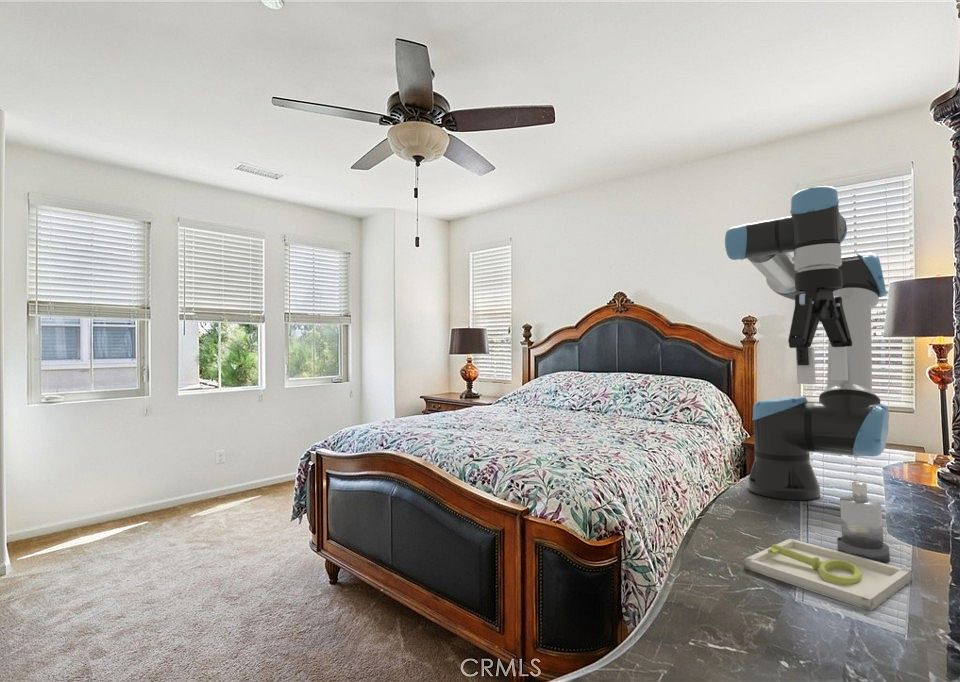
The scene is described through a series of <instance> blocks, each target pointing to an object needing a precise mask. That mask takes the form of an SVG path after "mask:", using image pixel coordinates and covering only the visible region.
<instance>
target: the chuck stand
mask: <svg viewBox="0 0 960 682" xmlns="http://www.w3.org/2000/svg"><path fill="white" fill-rule="evenodd" d="M851 491H852V496H842V497H840V498H839V506H840V507H839V508H840V526H841V529H840V530H841V536H839V537H837V538H836V541H837V542H836V543H837V551H839V552H843V553H847V554H851V555H854V556H858V557H862V558H866V559H869V560H873V561H877V562H881V563H885V564H887V563H888V564H889V562H890V561H891V556H890V546H889V545H888V544H887V543H884V530H883V529H884V528H883V512H882V511H883V510H882V503H881V502H880V501H879V500H875V499H871V498H868V484H867V483H865V482H859V481H853V482H851Z"/></svg>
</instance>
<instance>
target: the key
mask: <svg viewBox="0 0 960 682" xmlns="http://www.w3.org/2000/svg"><path fill="white" fill-rule="evenodd" d="M770 547H771V548H770ZM770 547H769V548H770V549H768V552H769V553H770V552H771V553H772V554H774V555H775V554H777V553H778V554H781V555H784V556H787V557H789V558H792V559H795V560H797V561H800V562H803V563H805V564H808V565H811V566H812V568H813V569H814V570H817V569H818V568H819V574H820V577H821V578H823V579H824V580H826V581H828V582H830V583H833V584H838V585H849V584H854V583H856V582H858V581H859V580H860V579H861V578H862V574H861V571H860V569H859V568H858V567H857V566H856V565H854V564H852V563H850V562H847V561H843V560H837V559H831V560H827V561H824V562H822V561H820V560H819V558H818V557H814V558H811V557H808V556H806V555H803V554H800V553H797V552H795V551H792V550H789V549H786V548H784V547H781V546H778V545H776V544H775V543H773V544H772V545H771V546H770ZM835 568H839V569H844V570H848V571H850V572H852V573H854V574H853V575H852V576H846V577H844V576H837V575H834V574H831V573H829V572H827V570H830V569H835Z"/></svg>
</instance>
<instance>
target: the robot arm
mask: <svg viewBox="0 0 960 682" xmlns="http://www.w3.org/2000/svg"><path fill="white" fill-rule="evenodd" d="M790 200H791V201H790V203H791V204H790V211H789V213H790V214H791V215H790V216H784V217H780V218H775V219H770V220H769V219H768V220H763V221H758V222H753V223H752V222H751V223H746V224H745V223H743V224H741V225H738V226H737V225H736V226H732V227H729V228H728V229H727V231H726V232H725V235H724V246H725V251H726V255H727V256H728V258H729V259H730V260H733V261H735V260H736V261H737V260H741V261H742V260H745V259H747V260H748V261H749V262H750V263H751V264H752V265H753V266H754V267H755V268H756V269H757V270H758V272H760V273H761V274H762V275H763V276H764V278H765V281H766V283H767V286H768V287H769V288H770V290H771V291H773V292H774V293H776V294H777V295H780V296H782V297H783V298H787V299H790V300H793V301H794V310H793V313H792V320H791V325H790V330H789V335H788V336H789V337H788V347H789V348H790V349H795V358H796V359H795V360H796V376H797V377H796V379H797V380H796V381H797V384H801V385H803V384H804V385H816V384H817V382H816V379H817V378H816V363H815V362H816V361H815V348H814V347H812V343H813V341H814V337H815V334H816V332H817V330H818V325H819V323H821V325H822V327H823V329H824V331H825V333H826V336H827V339H828V343H827V345H828V351H827V352H828V353H827V379H826V380H827V382H826V384H827V385H826V389H825V390H824V391H822V392H821V393H820V394H819V397H818V402H809V401H808V399H807V397H806V396H804V395H800V396H799V395H798V396H795V395H794V396H785V397H775V398H767V399H762V400H761V399H760V400H758V401H756V402H755V403H754V404H753V406H752V418H751V419H752V424H753V442H754V443H753V445H754V446H753V447H754V461H753V465H752V466H751V471H750V473H749V476H748V477H749V478H748V479H747V480H748V490H749V491H750V492H752V493H754V494H756V495H759V496H763V497H767V498H774V499H781V500H790V501H792V500H793V501H805V500H814V499H818V498H820V497H821V487H820V486H821V485H820V483H819V481H818V479H817V475H816V474H815V472H814V470H813V467H812V464H811V459H810V452H811V453H822V454H831V455H834V454H835V455H842V456H844V455H845V456H854V457H878V456H880V455H881V454H882V453H883V452H884V450H885V448H886V445H887V439H888V433H889V420H890V410H889V407H888V405H886V404H883V403H881V398H880V396H879V395H877V394H875V392H873V375H872V374H873V371H872V370H873V367H872V366H873V365H872V357H873V355H872V349H873V348H872V309H873V308H875V307H876V306H877V305H878V304H879V300H880V298H883V297H885V296H886V295H887V290H886V284H885V278H884V275H883V274H884V273H883V269H882V264H881V261H880V257H879V255H878V254H876V253H875V252H855V253H854V254H846V255H842V246H841V244H842V243H843V241H844V240H845V239H846V237H847V233H848V227H847V221H846V219H845V217H843V215H842V214H841V213H840V209H839V203H840V200H839V197H838V190H837V188H836V187H834V186H828V185H822V186H814V187H809V188H804V189H801V190H798V191H797V192H795V193H794V194H793V195H792V197H791V199H790ZM791 253H793V256H792V255H791Z"/></svg>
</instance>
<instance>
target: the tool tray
mask: <svg viewBox="0 0 960 682" xmlns="http://www.w3.org/2000/svg"><path fill="white" fill-rule="evenodd" d="M775 545H778V546H781V547H784V548H786V549H789V550H792V551H795V552H797V553H800V554H803V555H806V556H808V557H811V558H814V557H818V558H819V560H820V561H822V562H824V561H827V560H831V559H837V560H843V561H847V562H850V563H852V564H854V565H856V566H857V567H858V568H859V569H860V571H861V574H862V578H861V579H860V580H859V581H858V582H856V583H854V584H849V585H838V584H833V583H830V582H828V581H826V580H824V579H823V578H821V577H820V574H819V568H818V569H817V570H814V569H813V568H812V566H811V565H808V564H805V563H803V562H800V561H797V560H795V559H792V558H789V557H787V556H784V555H781V554H778V553H777V554H775V555H774V554H772V553H771V552H770V553H769V552H768V549H770V548H771V547H772V546H770V547H768V548H765V549H763V550H762V551H759V552H756V553H754V554H751V555H749V556H748V557H745V558H744V559H743V566H744V567H743V568H744V569H745V570H747V571H751V572H754V573H756V574H759V575H763V576H766V577H769V578H772V579H775V580H777V581H781V582H783V583H785V584H790V585H793V586H796V587H798V588H800V589H805V590H808V591H810V592H813V593H817V594H820V595H823V596H826V597H828V598H832V599H835V600H837V601H840V602H843V603H846V604H849V605H853V606H855V607H858V608H861V609H865V610H867V611H870V612H872V611H873V610H874V609H875V608H877V607H879V605H881V604H883V603H884V602H885V601H886V600H888V599H889V598H891V597H892V596H893V595H894V594H896V593H897V592H898V590H899V589H900V590H902V589H903V588H904V587H905V586H907V585H908V584H909V583H911V582H910V581H911V580H912V570H910V569H906V568H903V567H899V566H895V565H891V564H889V563H888V564H887V563H881V562H877V561H873V560H869V559H866V558H862V557H858V556H854V555H851V554H847V553H843V552H839V551H838V550H835V549H832V548H827V547H823V546H820V545H816V544H812V543H808V542H805V541H801V540H797V539H793V538H787V539H786V540H783V541H781V542H779V543H777V544H775ZM827 572H829V573H831V574H834V575H837V576H844V577H846V576H852V575H853V574H854V573H852V572H850V571H848V570H844V569H839V568H835V569H830V570H827ZM912 581H913V580H912ZM908 582H909V583H908ZM907 583H908V584H907ZM906 584H907V585H906ZM903 586H904V587H903ZM902 587H903V588H902ZM900 590H899V591H900ZM895 592H896V593H895ZM892 594H893V595H892ZM891 595H892V596H891ZM887 598H888V599H887Z"/></svg>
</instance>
